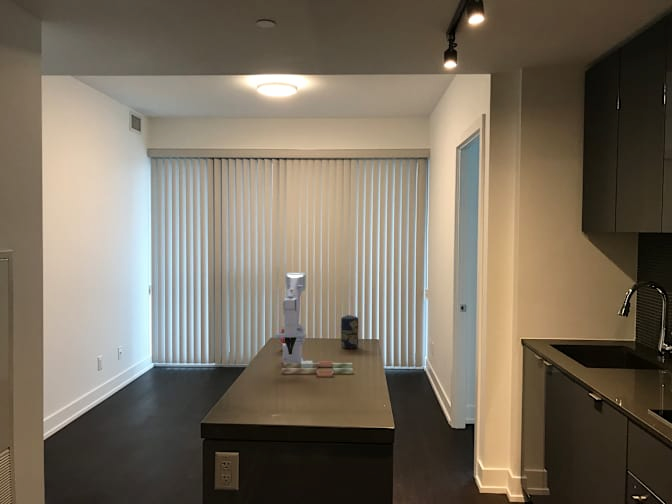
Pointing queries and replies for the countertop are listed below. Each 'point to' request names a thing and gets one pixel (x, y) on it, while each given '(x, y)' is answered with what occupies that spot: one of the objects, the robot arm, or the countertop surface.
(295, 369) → the track
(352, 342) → the canister
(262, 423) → the countertop surface
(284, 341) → the soda can
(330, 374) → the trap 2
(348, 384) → the countertop surface
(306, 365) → the block
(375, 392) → the countertop surface
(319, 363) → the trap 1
